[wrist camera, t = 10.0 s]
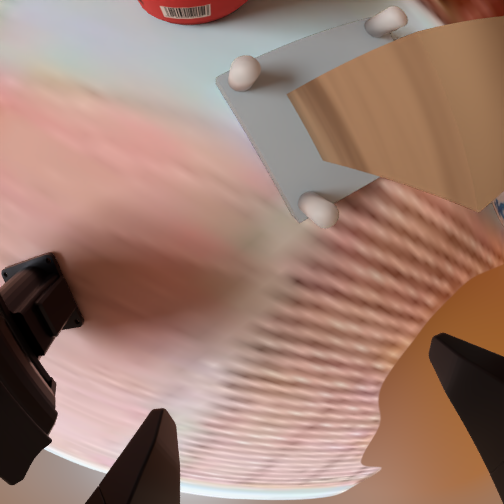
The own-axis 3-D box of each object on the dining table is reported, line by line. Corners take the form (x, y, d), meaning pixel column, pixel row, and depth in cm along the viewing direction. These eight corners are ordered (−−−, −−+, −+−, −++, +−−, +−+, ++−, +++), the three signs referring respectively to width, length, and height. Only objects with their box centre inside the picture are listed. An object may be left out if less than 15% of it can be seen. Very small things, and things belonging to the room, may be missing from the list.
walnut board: (322, 160, 17) (478, 212, 6) (286, 94, 15) (416, 31, 4) (396, 121, 16) (557, 137, 5) (366, 59, 14) (519, 15, 3)
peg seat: (291, 214, 20) (314, 239, 15) (215, 83, 16) (215, 65, 11) (422, 141, 19) (466, 148, 14) (366, 23, 15) (402, 1, 10)
